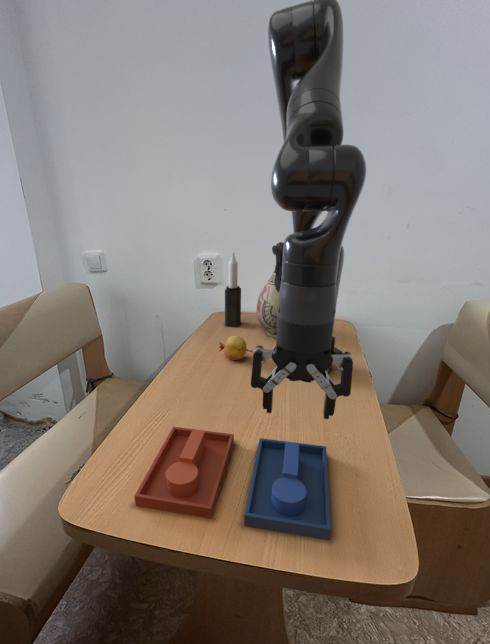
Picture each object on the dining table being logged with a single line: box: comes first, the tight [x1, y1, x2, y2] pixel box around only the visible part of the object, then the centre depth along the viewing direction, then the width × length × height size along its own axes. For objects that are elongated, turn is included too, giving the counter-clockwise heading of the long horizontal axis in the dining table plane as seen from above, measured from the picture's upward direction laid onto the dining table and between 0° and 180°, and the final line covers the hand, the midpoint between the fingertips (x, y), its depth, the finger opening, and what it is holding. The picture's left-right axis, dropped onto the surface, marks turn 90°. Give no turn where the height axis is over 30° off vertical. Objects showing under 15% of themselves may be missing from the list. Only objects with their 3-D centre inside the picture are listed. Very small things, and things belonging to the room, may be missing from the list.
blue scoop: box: [271, 441, 306, 516], centre depth 61 cm, size 13×5×4 cm, turn 168°
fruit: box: [218, 335, 254, 361], centre depth 105 cm, size 7×7×10 cm
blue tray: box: [243, 437, 332, 541], centre depth 61 cm, size 18×12×2 cm
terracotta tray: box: [133, 426, 235, 520], centre depth 65 cm, size 18×12×2 cm
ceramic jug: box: [255, 241, 284, 338], centre depth 117 cm, size 17×15×30 cm
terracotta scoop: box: [166, 428, 206, 497], centre depth 64 cm, size 13×5×4 cm, turn 168°
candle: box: [224, 251, 242, 328], centre depth 127 cm, size 5×5×25 cm
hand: (297, 413), depth 57 cm, fingers open, 8 cm apart
